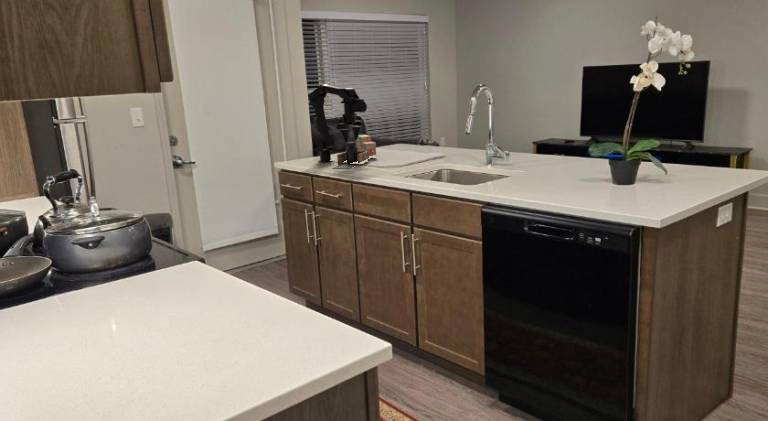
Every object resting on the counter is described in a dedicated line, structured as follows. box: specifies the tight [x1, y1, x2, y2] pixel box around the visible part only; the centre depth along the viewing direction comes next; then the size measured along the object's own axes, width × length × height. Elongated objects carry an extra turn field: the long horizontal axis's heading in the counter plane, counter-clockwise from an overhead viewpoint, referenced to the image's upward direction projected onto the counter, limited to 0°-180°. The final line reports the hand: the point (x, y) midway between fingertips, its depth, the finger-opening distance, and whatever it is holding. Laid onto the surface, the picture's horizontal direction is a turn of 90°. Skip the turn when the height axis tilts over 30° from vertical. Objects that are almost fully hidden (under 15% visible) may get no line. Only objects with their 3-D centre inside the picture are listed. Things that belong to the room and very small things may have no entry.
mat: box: [332, 164, 355, 170], centre depth 306 cm, size 10×10×1 cm
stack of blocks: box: [355, 134, 377, 156], centre depth 339 cm, size 21×6×12 cm, turn 17°
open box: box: [336, 151, 369, 166], centre depth 316 cm, size 14×13×6 cm
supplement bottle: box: [345, 141, 358, 165], centre depth 315 cm, size 7×7×12 cm
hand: (351, 140), depth 313 cm, fingers open, 9 cm apart
